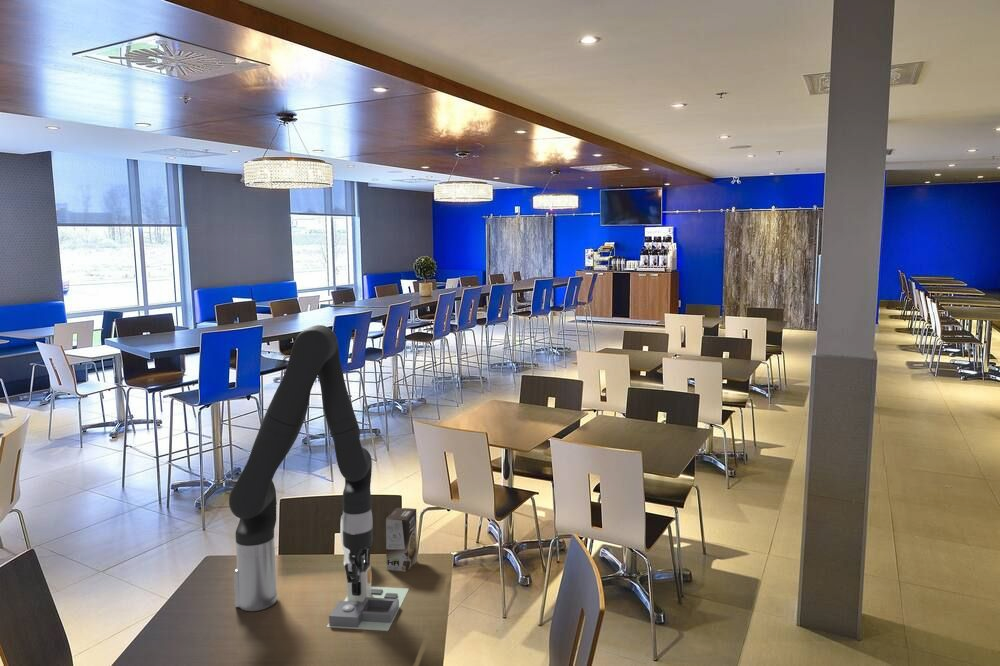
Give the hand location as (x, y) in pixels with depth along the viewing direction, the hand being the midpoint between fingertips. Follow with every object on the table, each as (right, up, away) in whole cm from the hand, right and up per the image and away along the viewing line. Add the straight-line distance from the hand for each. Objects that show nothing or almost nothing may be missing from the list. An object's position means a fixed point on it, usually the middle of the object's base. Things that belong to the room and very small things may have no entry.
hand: (359, 590), depth 171 cm
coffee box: (+8, -1, +19) cm, 21 cm away
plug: (0, -2, 0) cm, 2 cm away
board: (+3, -4, -4) cm, 7 cm away
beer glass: (-6, -1, +20) cm, 21 cm away
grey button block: (0, -3, -8) cm, 8 cm away
